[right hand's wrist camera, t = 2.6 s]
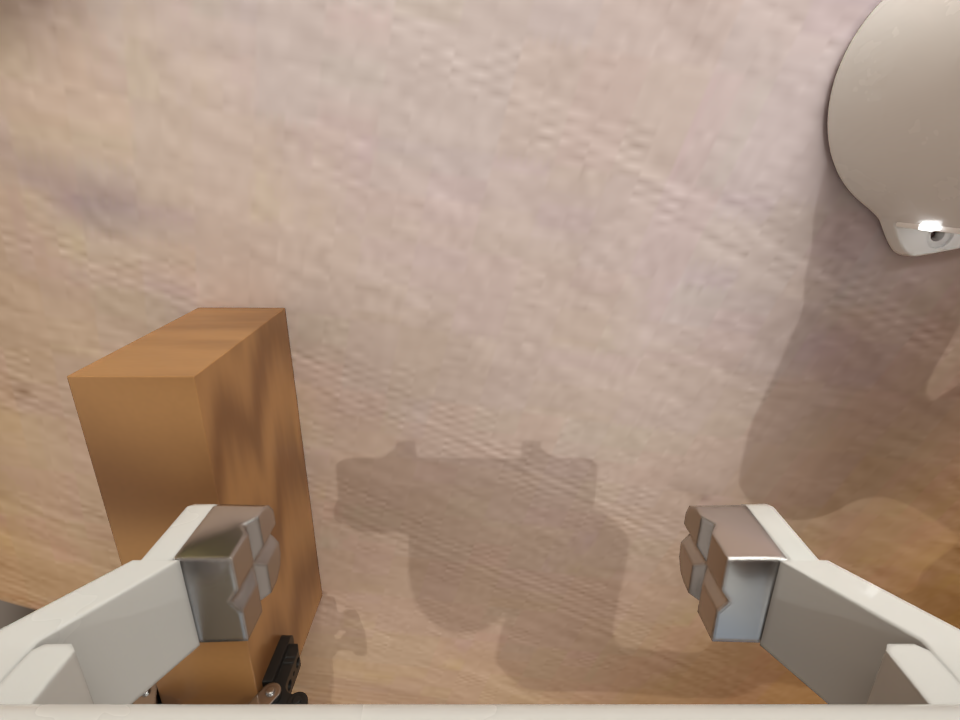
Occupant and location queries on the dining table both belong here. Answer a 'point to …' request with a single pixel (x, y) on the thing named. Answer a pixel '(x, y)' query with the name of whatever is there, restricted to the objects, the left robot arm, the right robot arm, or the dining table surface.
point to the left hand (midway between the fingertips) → (241, 644)
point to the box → (207, 467)
